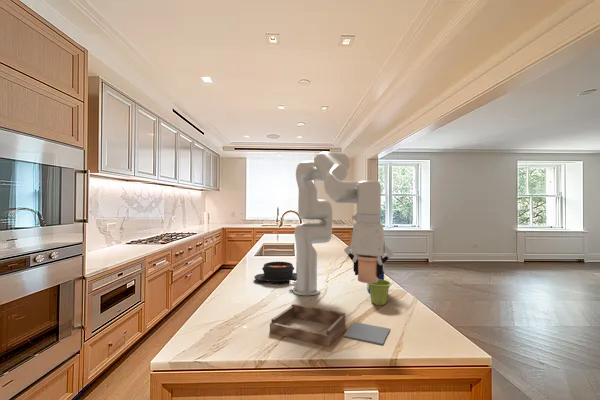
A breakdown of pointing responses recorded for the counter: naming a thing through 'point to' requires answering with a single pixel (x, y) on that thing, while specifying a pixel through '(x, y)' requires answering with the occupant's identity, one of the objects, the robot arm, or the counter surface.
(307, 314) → the wooden tray
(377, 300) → the plant pot
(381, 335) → the mat
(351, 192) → the robot arm
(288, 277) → the casserole
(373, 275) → the terracotta pot
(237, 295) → the counter surface
